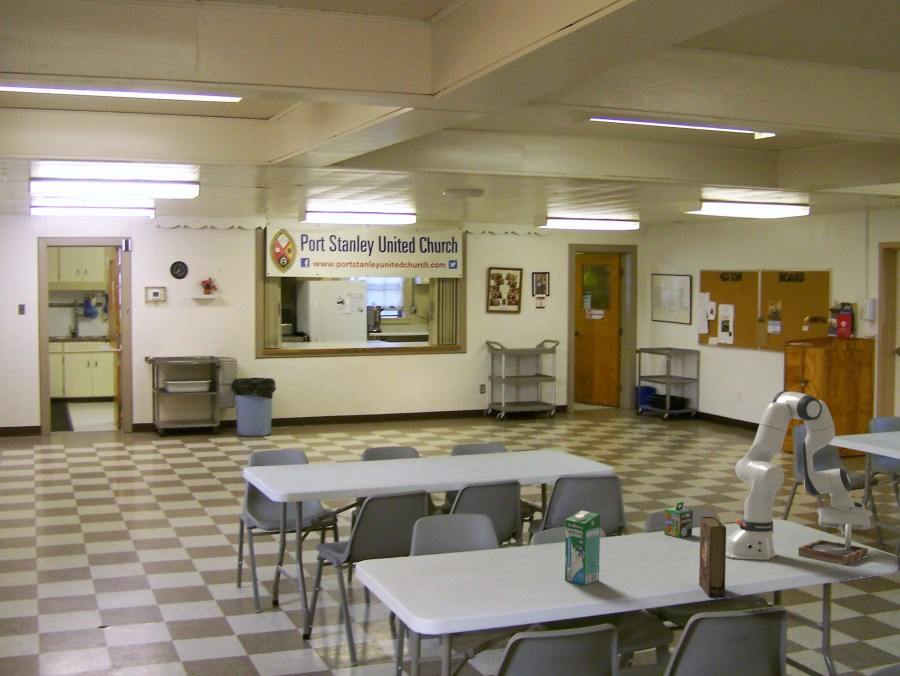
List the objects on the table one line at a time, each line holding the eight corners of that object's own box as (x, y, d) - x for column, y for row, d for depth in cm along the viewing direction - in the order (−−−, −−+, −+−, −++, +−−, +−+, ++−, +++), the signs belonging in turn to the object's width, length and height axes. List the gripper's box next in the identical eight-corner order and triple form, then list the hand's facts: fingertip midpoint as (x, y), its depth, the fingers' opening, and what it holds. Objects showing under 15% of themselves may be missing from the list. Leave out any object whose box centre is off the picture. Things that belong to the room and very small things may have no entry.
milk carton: (564, 580, 363) (565, 513, 362) (579, 575, 370) (581, 509, 369) (584, 585, 357) (585, 517, 356) (599, 580, 363) (600, 513, 362)
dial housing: (846, 565, 389) (846, 556, 389) (798, 555, 404) (798, 546, 404) (867, 556, 403) (867, 548, 403) (820, 547, 418) (820, 539, 417)
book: (698, 584, 361) (699, 516, 360) (713, 584, 360) (714, 516, 360) (709, 597, 344) (710, 526, 343) (724, 597, 344) (726, 526, 343)
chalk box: (676, 531, 445) (676, 499, 444) (692, 535, 438) (693, 502, 437) (663, 534, 439) (663, 501, 438) (680, 538, 432) (680, 504, 431)
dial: (824, 557, 394) (825, 529, 394) (805, 547, 410) (805, 521, 410) (862, 556, 397) (862, 529, 396) (841, 546, 412) (841, 520, 412)
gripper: (817, 502, 418) (820, 529, 409) (868, 504, 414) (872, 533, 404) (815, 510, 423) (818, 538, 413) (866, 513, 418) (870, 541, 409)
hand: (845, 535), depth 409 cm, fingers closed
